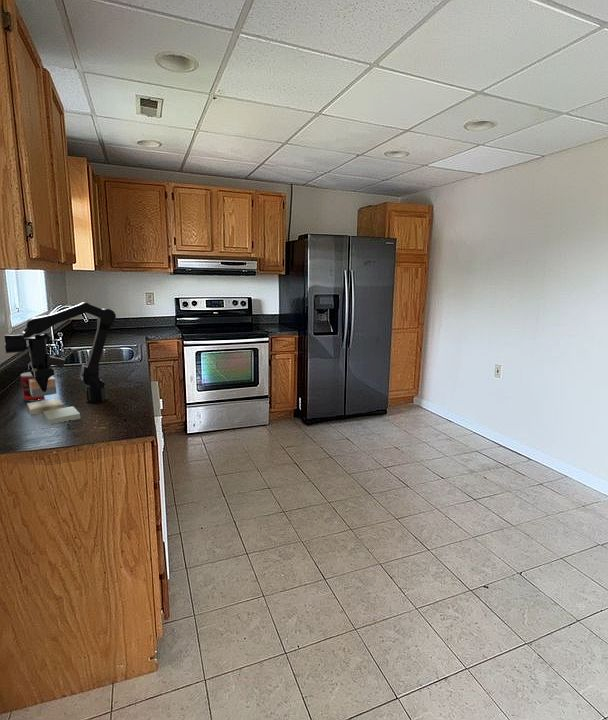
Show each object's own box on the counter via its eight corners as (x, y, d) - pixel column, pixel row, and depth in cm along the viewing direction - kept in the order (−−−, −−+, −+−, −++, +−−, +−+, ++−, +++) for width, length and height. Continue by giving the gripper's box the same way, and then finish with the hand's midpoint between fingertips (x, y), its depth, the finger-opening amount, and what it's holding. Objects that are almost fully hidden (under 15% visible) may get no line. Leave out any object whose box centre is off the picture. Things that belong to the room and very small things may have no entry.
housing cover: (53, 383, 167) (52, 376, 167) (55, 386, 163) (54, 378, 163) (29, 386, 162) (28, 379, 162) (31, 389, 158) (30, 382, 158)
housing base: (54, 390, 168) (53, 383, 167) (56, 393, 164) (55, 386, 163) (30, 394, 163) (29, 386, 162) (32, 397, 159) (31, 389, 158)
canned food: (40, 394, 183) (37, 370, 181) (47, 398, 178) (44, 373, 176) (20, 398, 177) (17, 373, 175) (27, 402, 172) (24, 376, 170)
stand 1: (59, 403, 172) (58, 398, 171) (64, 409, 164) (63, 404, 164) (27, 408, 165) (26, 403, 165) (31, 414, 157) (30, 409, 157)
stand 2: (43, 416, 156) (43, 411, 155) (73, 411, 162) (73, 406, 162) (49, 424, 147) (48, 419, 147) (80, 418, 154) (79, 413, 153)
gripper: (67, 352, 158) (71, 391, 161) (57, 345, 172) (61, 382, 175) (32, 355, 151) (37, 396, 154) (25, 348, 165) (30, 386, 168)
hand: (43, 390), depth 163 cm, fingers closed on housing base, housing cover, 5 cm apart
